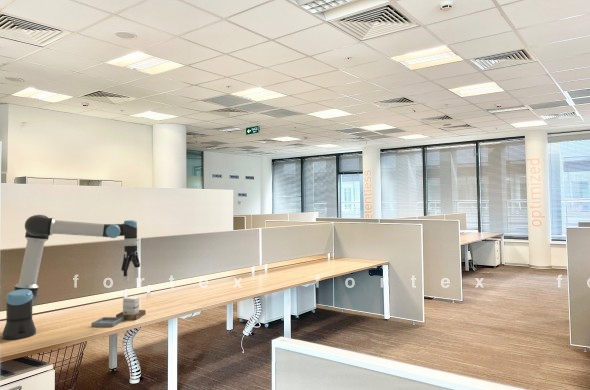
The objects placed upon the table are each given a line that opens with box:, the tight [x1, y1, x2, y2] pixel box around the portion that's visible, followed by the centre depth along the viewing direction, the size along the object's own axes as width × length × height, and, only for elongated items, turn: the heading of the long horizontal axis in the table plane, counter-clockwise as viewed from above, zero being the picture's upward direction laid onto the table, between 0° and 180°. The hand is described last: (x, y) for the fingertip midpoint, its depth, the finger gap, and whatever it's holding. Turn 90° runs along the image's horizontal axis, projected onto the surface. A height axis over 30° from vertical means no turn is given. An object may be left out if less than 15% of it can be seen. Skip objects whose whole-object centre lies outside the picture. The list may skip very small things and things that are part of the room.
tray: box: [91, 316, 125, 328], centre depth 246 cm, size 13×13×2 cm
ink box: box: [122, 296, 140, 315], centre depth 260 cm, size 9×5×12 cm, turn 74°
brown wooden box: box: [115, 309, 146, 321], centre depth 260 cm, size 13×13×3 cm
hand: (131, 279), depth 261 cm, fingers open, 13 cm apart
